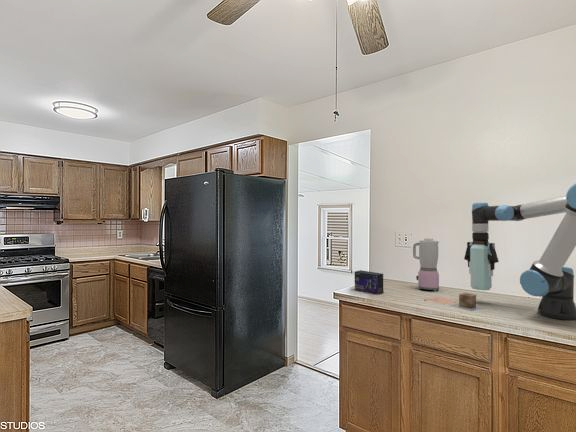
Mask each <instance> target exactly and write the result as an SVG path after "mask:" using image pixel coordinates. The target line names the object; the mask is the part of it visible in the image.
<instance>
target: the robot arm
mask: <svg viewBox="0 0 576 432" xmlns="http://www.w3.org/2000/svg"><path fill="white" fill-rule="evenodd" d="M563 213H564V216H563V218H562V220H561V222H560V224H559V225H558V227H557V229H556V231H555V232H554V233H553V235H552V237H551V239H550V240H549V243H548V245H547V246H546V248H545V250H544V251H543V253H542V255H541V256H540V258H539V260H535V261H533V263H531V266H530V267H529V269H527V270H524V271H523V272H522V273H521V275H520V277H519V284H520V286H521V288H522V290H523V291H524V292H525V293H527V295H530V296H533V297H541V300H540V302H539V303H538V304H539V305H538V307H537V314H538V315H540V316H543V317H545V318H549V319H556V320H565V321H576V304H575V301H574V294H575V291H574V289H575V288H574V285H575V282H574V281H575V275H574V274H575V273H574V269H573V268H572V267H567V266H565V265H566V263H567V261H568V259H570V256H571V255H572V253H573V251H574V250H575V248H576V183H574V184H573V185H571V186H570V187H569V188H568V189H567V192H566V195H563V196H558V197H556V196H555V197H551V198H547V199H542V200H537V201H533V202H532V201H531V202H529V203H523V204H517V205H505V204H503V205H502V204H500V205H491V206H490V205H489V203H488V202H473V204H471V218H472V221H471V231H472V233H471V236H472V237H471V238H472V241H468V242H466V249H465V254H464V258H463V259H464V261H467V267H468V272H469V273H468V274H469V275H471V269H470V248H471V247H472V245H473V242H474V241H484V245H485V246H489V248H490V252H491V255H489V254H488V260H489V262H490V263H488V274H489V276H491V277H494V271H495V264H497V263H499V258H498V257H499V256H498V253H497V252H496V246H495V242H489V239H490V238H489V237H490V236H489V222H491V221H494V222H495V221H496V222H497V221H498V222H499V221H501V222H507V221H508V222H509V221H511V222H512V221H514V222H520V221H524V220H527V219H534V218H539V217H546V216H552V215H558V214H559V215H560V214H563Z"/></svg>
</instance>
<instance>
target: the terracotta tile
mask: <svg viewBox="0 0 576 432" xmlns="http://www.w3.org/2000/svg"><path fill="white" fill-rule="evenodd" d="M423 301H424V302H426V301H430V302H433V303H438V304H440V305H450V304H456V303H459V300H455V299H453V298H448V297H443V296H436V297H430V298H429V297H428V298H424V299H423Z"/></svg>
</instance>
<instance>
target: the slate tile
mask: <svg viewBox="0 0 576 432" xmlns="http://www.w3.org/2000/svg"><path fill="white" fill-rule="evenodd" d="M448 306H449V307H453V308H457V309H462V310H466V311H469V312H474V311H480V310H485V309H487V307H485V306H481V305H477V304H476V307H474V308H472V309H471V308H465V307H460V306H459V302H456V303H450V304H448Z"/></svg>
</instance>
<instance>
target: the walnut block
mask: <svg viewBox="0 0 576 432" xmlns="http://www.w3.org/2000/svg"><path fill="white" fill-rule="evenodd" d="M458 301H459V302H458V303H459V306H460V307H465V308H471V309H472V308H474V307H476V305H477V294H476V293H469V292H462V293H459V294H458Z"/></svg>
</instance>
